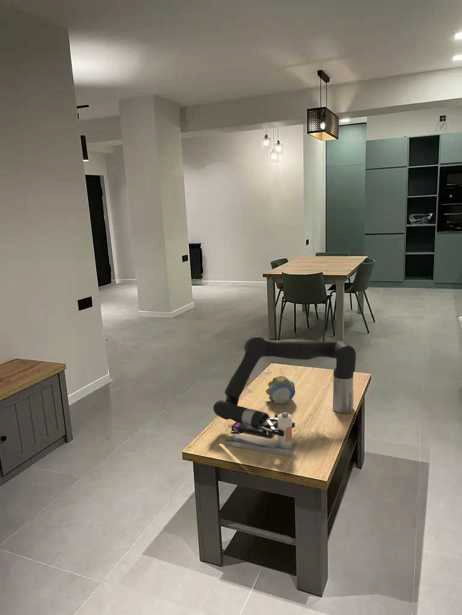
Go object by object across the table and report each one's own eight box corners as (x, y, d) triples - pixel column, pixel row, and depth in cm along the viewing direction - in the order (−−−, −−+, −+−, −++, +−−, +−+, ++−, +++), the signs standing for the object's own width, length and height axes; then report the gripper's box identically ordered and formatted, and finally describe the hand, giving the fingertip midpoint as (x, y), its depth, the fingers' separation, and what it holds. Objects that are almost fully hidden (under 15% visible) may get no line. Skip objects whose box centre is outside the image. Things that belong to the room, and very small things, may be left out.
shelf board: (297, 447, 189) (297, 444, 189) (291, 459, 180) (291, 456, 180) (234, 436, 200) (234, 433, 199) (225, 447, 191) (225, 445, 190)
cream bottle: (275, 447, 188) (275, 412, 184) (286, 443, 190) (286, 409, 187) (283, 453, 183) (283, 418, 179) (294, 449, 185) (294, 414, 182)
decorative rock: (281, 378, 221) (297, 370, 233) (255, 381, 231) (272, 373, 243) (288, 406, 221) (304, 397, 233) (262, 408, 231) (278, 399, 243)
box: (231, 433, 204) (272, 441, 195) (230, 426, 204) (271, 434, 195) (244, 419, 216) (283, 426, 207) (244, 412, 216) (283, 419, 207)
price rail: (292, 455, 181) (292, 450, 181) (291, 456, 180) (291, 452, 180) (226, 443, 192) (226, 439, 191) (225, 445, 190) (224, 440, 190)
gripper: (245, 417, 187) (279, 428, 177) (264, 404, 198) (297, 414, 188) (245, 434, 188) (280, 445, 179) (264, 420, 199) (297, 430, 190)
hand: (289, 429), depth 183 cm, fingers open, 8 cm apart
